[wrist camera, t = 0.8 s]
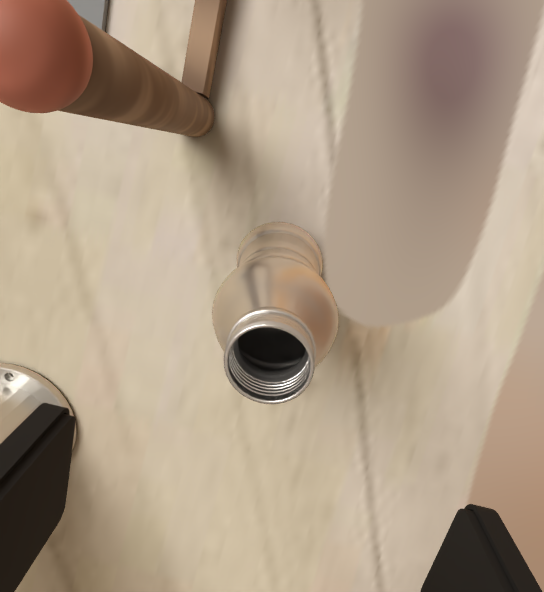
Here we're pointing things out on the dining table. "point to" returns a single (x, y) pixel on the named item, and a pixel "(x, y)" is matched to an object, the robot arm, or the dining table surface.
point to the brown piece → (104, 68)
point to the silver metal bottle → (275, 314)
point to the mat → (92, 11)
